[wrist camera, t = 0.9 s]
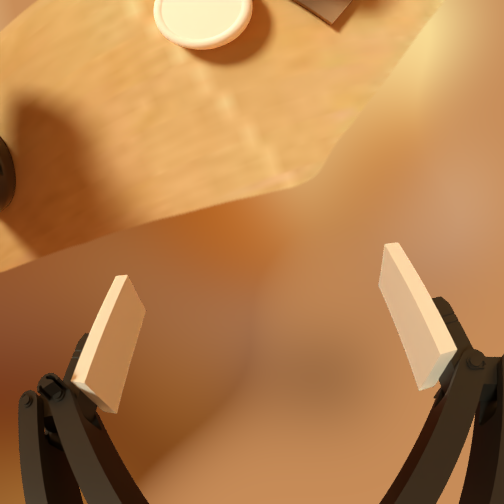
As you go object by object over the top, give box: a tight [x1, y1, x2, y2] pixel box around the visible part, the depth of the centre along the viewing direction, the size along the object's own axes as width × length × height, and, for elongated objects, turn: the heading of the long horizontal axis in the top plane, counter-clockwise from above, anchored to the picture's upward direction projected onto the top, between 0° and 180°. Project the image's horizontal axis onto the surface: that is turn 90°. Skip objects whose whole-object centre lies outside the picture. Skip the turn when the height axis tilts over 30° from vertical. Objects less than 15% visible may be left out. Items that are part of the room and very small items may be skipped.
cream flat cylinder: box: [154, 0, 253, 50], centre depth 22 cm, size 10×10×4 cm
